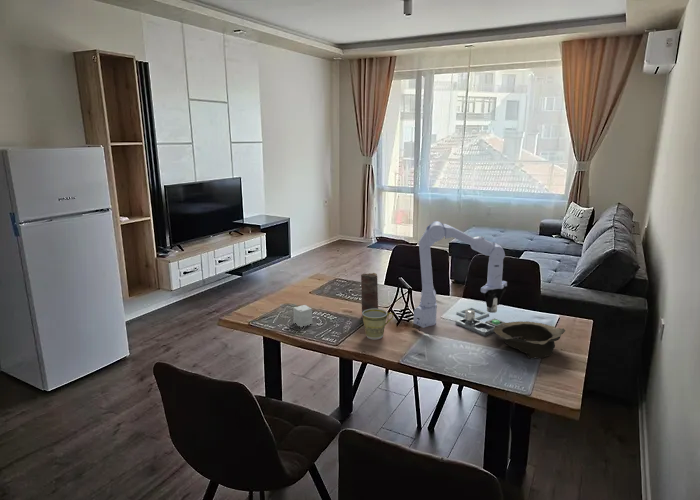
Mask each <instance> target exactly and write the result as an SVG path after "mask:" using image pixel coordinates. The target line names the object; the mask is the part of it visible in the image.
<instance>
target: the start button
mask: <svg viewBox="0 0 700 500" xmlns="http://www.w3.org/2000/svg"><path fill="white" fill-rule="evenodd" d="M491 320H492V319H491ZM499 320H500V319H497V320H492V323H493V324H496V325H498V324H500V321H501V320H500V321H499Z"/></svg>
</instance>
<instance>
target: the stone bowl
mask: <svg viewBox="0 0 700 500" xmlns="http://www.w3.org/2000/svg"><path fill="white" fill-rule="evenodd" d="M493 331H494V333H495V334H496V335H497V336H498V337H500V338H502V340H503V341H504V344H506V345H507V346H509V347H511V348H513V349H516V350H519V352H522V353H525V355H526V357H527V358H528V359H531V358H534V359H543V358H546V357H549V356H551V355H552V354H553V353H554V349H555V348H556V343H555V342H557V341H559V340H560V339H561V337H562V335H563V334H564V333H566V330H565V329H564V328H559V327H558V328H557V327H556V326H554V325H549V324H544V323H541V322H534V321H521V320H519V321H511V322H506V323H502V324H500V325H497V326H495V327H494V330H493Z"/></svg>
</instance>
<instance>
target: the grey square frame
mask: <svg viewBox="0 0 700 500" xmlns="http://www.w3.org/2000/svg"><path fill="white" fill-rule="evenodd" d="M465 310H474V311H475V313H479V314H480V315H477V316H475V319H477V320H480V319H484V318H487V317H489V316H490V312H487V311H484V310H481V309H478V308H476V307H473V306H469V307H467V308H463V309H460V310H457V311H456V315H458V316H460V317H463V318H465Z"/></svg>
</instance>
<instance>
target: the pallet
mask: <svg viewBox="0 0 700 500" xmlns="http://www.w3.org/2000/svg"><path fill="white" fill-rule="evenodd" d="M455 325H457V326H459V327H462V328H464V329H466V330H468V331H472V332H474V333H476V334H479V335H480V336H483V337H486V336H488V335H492V334H494V333H495V332H494V331H493V330H494V327H495V326H492V325H490V324H487V323H485V321H482V320H480V319H478V320H477V319H475V322H474V324H473V325H468V324H466V323H465V317H463V318H460V319H457V320H455Z"/></svg>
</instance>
